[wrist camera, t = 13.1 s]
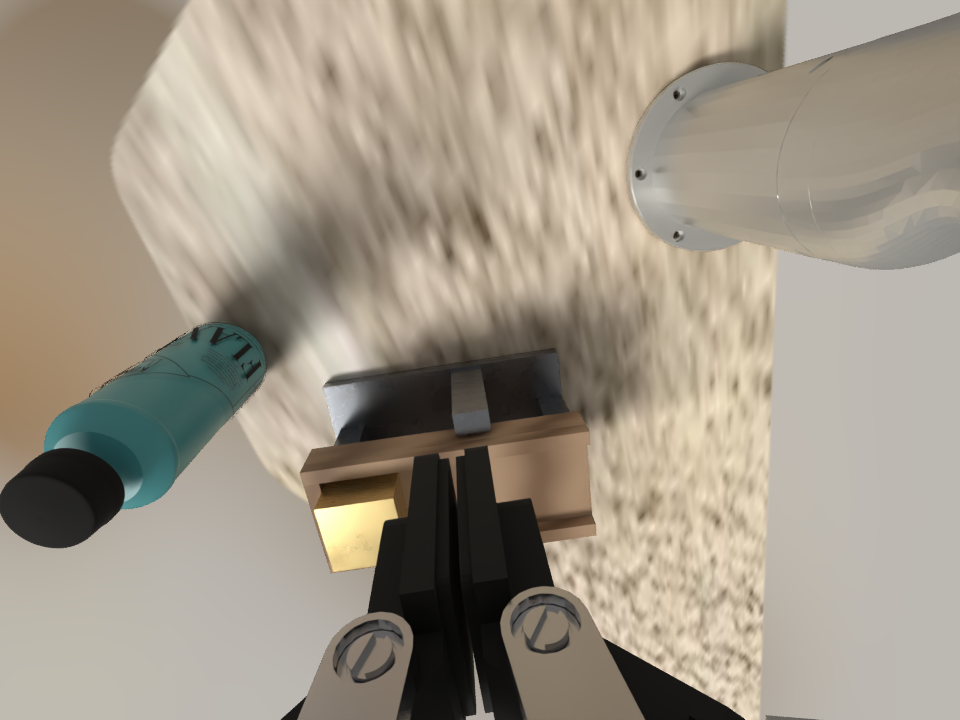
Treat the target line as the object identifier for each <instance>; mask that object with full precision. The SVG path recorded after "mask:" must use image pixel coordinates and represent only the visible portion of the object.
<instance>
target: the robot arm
mask: <svg viewBox="0 0 960 720" xmlns="http://www.w3.org/2000/svg"><path fill="white" fill-rule="evenodd" d="M674 92H676V93H677V98H676V99H674V96H673V93H674ZM637 170H639V171H640V175H639V177H636V176H635V173H636V171H637ZM626 182H627V187H628V193H629V198H630V200H631V203H632V206H633V208H634V211H635V213H636V214H637V216H638V217H639V219H640V221H641V222H642V224H643V225H644V226H645V227H646V228H647V229H648V230H649V231H650V232H651V233H652V234H653V235H654V236H656V237H657V238H659V239H660V240H662V241H663V242H665V243H667V244H670V245H672V246H675V247H677V248H681V249H685V250H689V251H701V252H708V251H715V250H721V249H725V248H728V247H730V246H733V245H736V244H738V243H740V242H742V241H745V242H750V243H754V244H758V245H762V246H766V247H771V248H775V249H779V250H784V251H788V252H792V253H796V254H800V255H804V256H809V257H813V258H818V259H822V260H828V261H832V262H836V263H841V264H845V265H849V266H854V267H860V268H867V269H878V270H879V269H880V270H893V269H903V268H909V267H915V266H920V265H925V264H928V263H932V262H935V261H938V260H941V259H944V258H947V257H949V256H952V255H954V254H956V253H959V252H960V13H957V14H954V15H951V16H948V17H945V18H942V19H939V20H936V21H933V22H930V23H927V24H924V25H921V26H917V27H915V28H911V29H908V30H905V31H901V32H898V33H895V34H892V35H889V36H885V37H882V38H879V39H877V40H874V41H871V42H868V43H865V44H861V45H858V46H854V47H851V48H848V49H845V50H841V51H838V52H835V53H831V54H828V55H825V56H822V57H818V58H815V59H812V60H808V61H805V62H802V63H799V64H795V65H792V66H789V67H786V68H782V69H779V70H776V71H772V72H767V71H765V70H763V69H761V68H758V67H756V66H754V65H750V64H745V63H740V62H721V63H716V64H712V65H708V66H704V67H701V68H698V69H696V70H694V71H691V72H689V73H687V74H685V75H684V76H682V77H680V78H679V79H677V80H675V81H674V82H672V83H671V84H670V85H669V86H667V87H666V88H665V89H664V90H663V91H662V92H661V93H659V94H658V95H657V97H656V98H655V99H654V100H653V101H652V103H651V104H650V105H649V106H648V108H647V109H646V110H645V112H644V114H643V115H642V117H641V119H640V121H639V123H638V124H637V126H636V129H635V131H634V134H633V137H632V139H631V142H630V146H629V151H628V156H627V162H626ZM675 232H677V236H676V237H675V238H673V235H674V233H675ZM456 481H457V499H456V494H455V488H454V483H453V477H452V472H451V467H450V461H449V458H444V459H440V456H439V453H434V454H428V455H421V456H415V457H414V462H413V471H412V480H411V489H410V498H409V507H408V516H407V517H403V518H397V519H390V520H386V521H385V522H384V524H383V528H382V534H381V540H380V545H379V551H378V557H377V562H376V568H375V574H374V580H373V585H372V591H371V596H370V602H369V608H368V613H367V614H366V615H364V616H362V617H359V618H356V619H354V620H353V621H351V622H350V623H349V624H347V625H345V626H344V627H343V628H342V629H341V630H340V631H339V632H338V633H337V634H336V635H335V636H334V637H333V638H332V640H331V642H330V643H329V645H328V647H327V649H326V651H325V653H324V655H323V658H322V660H321V663H320V665H319V668H318V670H317V673H316V675H315V677H314V680H313V683H312V685H311V687H310V690H309V692H308V695H307V696H306V697H305V698H304V699H303V700H302V701H301V702H300V703H299V704H298V705H297V706H295V707H294V708H293V709H292V710H291V711H290V712H289V713H288V714H286V716H284V717H283V718H282V719H281V720H466V716H470V715H476V696H475V679H474V661H473V653H474V658H475V663H476V669H477V674H478V678H479V684H480V689H481V694H482V699H483V704H484V710H485V713H490V712H493V713H494V718H495V720H745V719H744V718H743V717H741V716H740V715H738V714H737V713H736V712H734V711H733V710H731V709H730V708H729V707H727V706H725V705H723V704H721V703H720V702H718V701H716V700H714V699H712V698H711V697H709V696H707V695H705V694H703V693H702V692H700V691H698V690H696V689H694V688H693V687H691V686H689V685H687V684H685V683H684V682H682V681H680V680H678V679H676V678H674V677H673V676H671V675H669V674H667V673H665V672H664V671H662V670H660V669H658V668H656V667H655V666H653V665H651V664H649V663H647V662H646V661H644V660H642V659H640V658H638V657H637V656H635V655H633V654H631V653H629V652H628V651H626V650H624V649H622V648H620V647H619V646H617V645H615V644H613V643H611V642H610V641H608V640H606V639H604V638H602V636H601V634H600V632H599V631H598V629H597V627H596V625H595V623H594V621H593V619H592V617H591V615H590V613H589V611H588V609H587V608H586V607H585V605H584V604H583V603H582V601H581V600H580V599H579V598H577V597H576V596H575V595H573V594H572V593H570V592H568V591H566V590H563V589H560V588H557V587H554V584H553V580H552V576H551V572H550V568H549V565H548V561H547V557H546V553H545V549H544V545H543V542H542V538H541V534H540V530H539V526H538V523H537V519H536V515H535V511H534V507H533V504H532V500H531V498H526V499H519V500H513V501H506V502H500V503H496V497H495V490H494V484H493V477H492V471H491V464H490V458H489V451H488V445H486V446H480V447H473V448H467V449H464V455H463V456H457V457H456ZM765 720H816V719H803V718H791V717H780V716H779V717H778V716H767V715H766V719H765Z"/></svg>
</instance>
